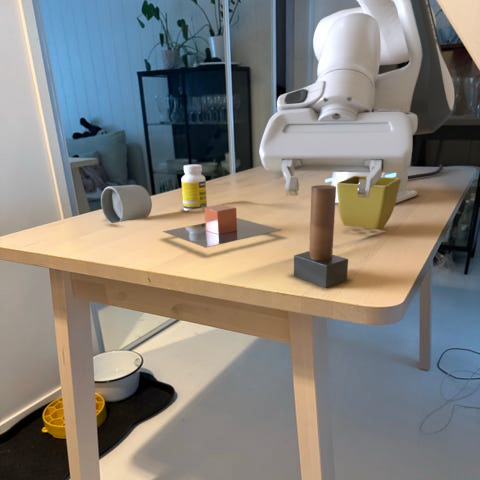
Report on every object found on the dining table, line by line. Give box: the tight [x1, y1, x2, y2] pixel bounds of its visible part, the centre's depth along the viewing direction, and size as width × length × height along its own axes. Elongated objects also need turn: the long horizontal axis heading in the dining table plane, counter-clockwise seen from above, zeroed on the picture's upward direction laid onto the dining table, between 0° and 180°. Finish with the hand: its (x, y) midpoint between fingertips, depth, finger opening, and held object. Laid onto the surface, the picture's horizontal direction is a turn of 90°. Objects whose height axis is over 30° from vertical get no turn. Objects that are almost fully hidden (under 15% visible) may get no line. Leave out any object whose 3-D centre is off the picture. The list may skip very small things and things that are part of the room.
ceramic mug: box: [100, 184, 153, 224], centre depth 96 cm, size 11×8×8 cm
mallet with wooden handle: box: [293, 184, 349, 289], centre depth 59 cm, size 4×6×12 cm, turn 37°
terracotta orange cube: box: [204, 204, 238, 234], centre depth 80 cm, size 4×4×4 cm
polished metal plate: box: [162, 217, 282, 249], centre depth 82 cm, size 16×14×2 cm
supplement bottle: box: [181, 163, 208, 211], centre depth 104 cm, size 5×5×10 cm
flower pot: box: [337, 176, 401, 231], centre depth 81 cm, size 9×9×9 cm
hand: (326, 194), depth 60 cm, fingers open, 8 cm apart
